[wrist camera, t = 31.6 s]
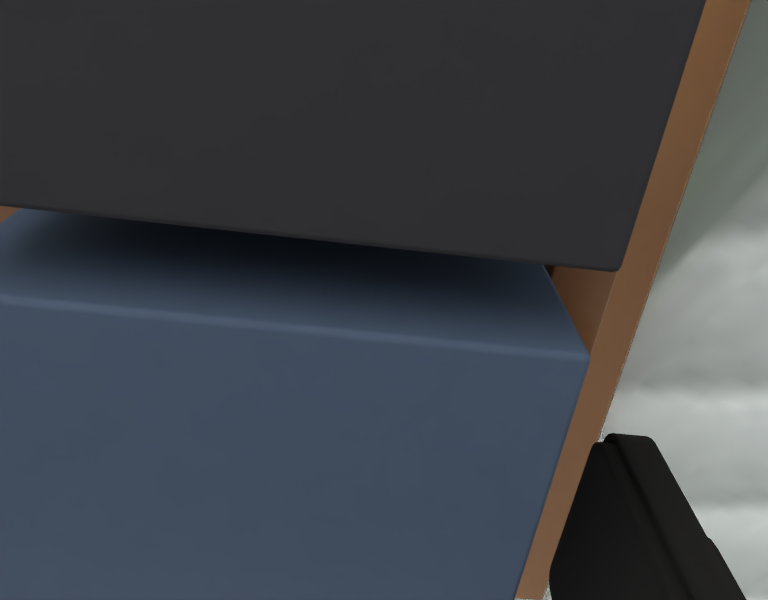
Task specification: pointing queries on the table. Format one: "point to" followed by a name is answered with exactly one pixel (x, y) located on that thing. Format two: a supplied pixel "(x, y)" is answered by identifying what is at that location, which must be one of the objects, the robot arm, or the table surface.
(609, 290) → the brown wooden flat tray
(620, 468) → the robot arm
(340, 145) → the charcoal pad
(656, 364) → the table surface
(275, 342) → the slate pad
